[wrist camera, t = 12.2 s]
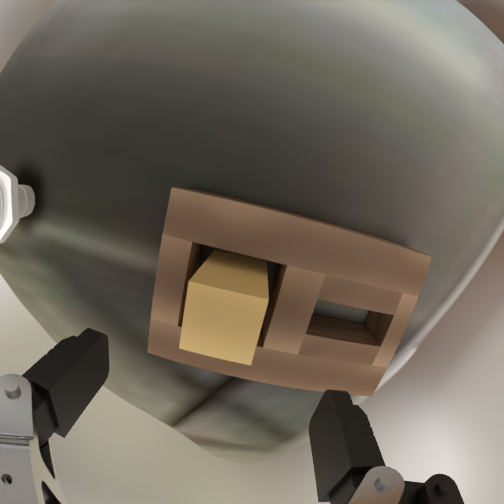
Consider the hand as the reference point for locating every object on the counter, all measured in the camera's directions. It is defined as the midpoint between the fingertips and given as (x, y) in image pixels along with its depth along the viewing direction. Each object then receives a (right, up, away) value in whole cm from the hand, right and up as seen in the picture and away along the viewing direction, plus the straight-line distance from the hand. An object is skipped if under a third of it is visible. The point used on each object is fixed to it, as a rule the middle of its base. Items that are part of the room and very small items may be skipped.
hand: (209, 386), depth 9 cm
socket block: (+4, +2, +13) cm, 14 cm away
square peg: (0, +2, +13) cm, 13 cm away
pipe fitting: (-21, +10, +12) cm, 27 cm away
